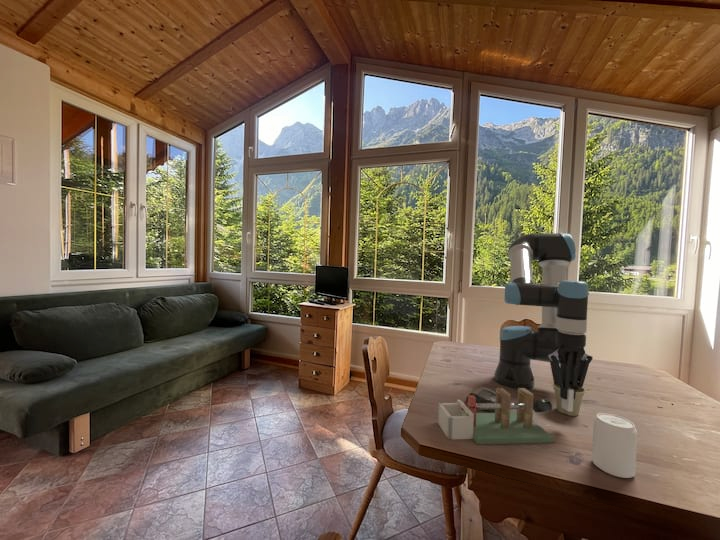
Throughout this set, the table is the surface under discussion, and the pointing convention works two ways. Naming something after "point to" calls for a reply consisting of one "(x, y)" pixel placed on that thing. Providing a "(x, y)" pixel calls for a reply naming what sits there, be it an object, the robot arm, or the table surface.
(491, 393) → the rock
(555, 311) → the robot arm
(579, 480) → the table surface
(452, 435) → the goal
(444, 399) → the table surface
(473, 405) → the rod
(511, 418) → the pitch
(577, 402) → the flower pot
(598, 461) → the beverage can
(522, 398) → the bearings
